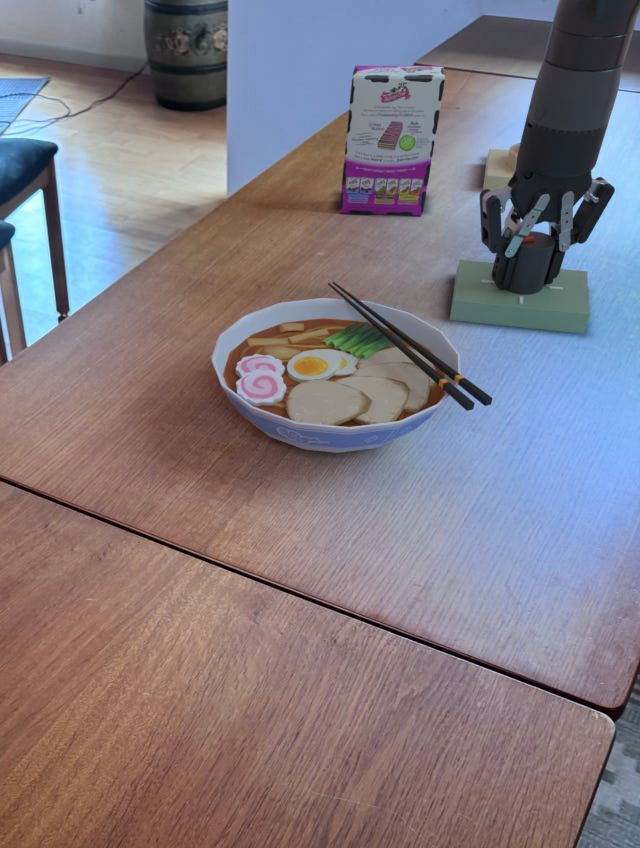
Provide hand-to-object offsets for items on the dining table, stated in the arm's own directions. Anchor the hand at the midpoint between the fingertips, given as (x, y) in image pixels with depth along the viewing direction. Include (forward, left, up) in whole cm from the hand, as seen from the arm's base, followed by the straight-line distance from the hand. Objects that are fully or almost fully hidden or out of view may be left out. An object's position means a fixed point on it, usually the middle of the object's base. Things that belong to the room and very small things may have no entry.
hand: (522, 282), depth 100 cm
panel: (0, 0, -3) cm, 3 cm away
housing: (-1, -38, -3) cm, 38 cm away
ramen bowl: (+17, +27, -4) cm, 32 cm away
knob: (0, 0, 0) cm, 0 cm away
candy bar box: (+18, -25, -4) cm, 31 cm away
